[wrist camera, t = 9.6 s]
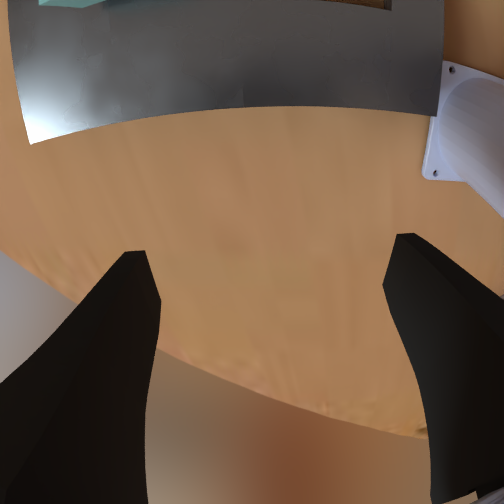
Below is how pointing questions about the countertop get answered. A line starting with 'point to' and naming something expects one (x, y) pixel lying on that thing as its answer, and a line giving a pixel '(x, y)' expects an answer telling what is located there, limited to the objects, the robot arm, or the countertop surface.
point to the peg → (69, 3)
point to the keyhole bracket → (220, 58)
